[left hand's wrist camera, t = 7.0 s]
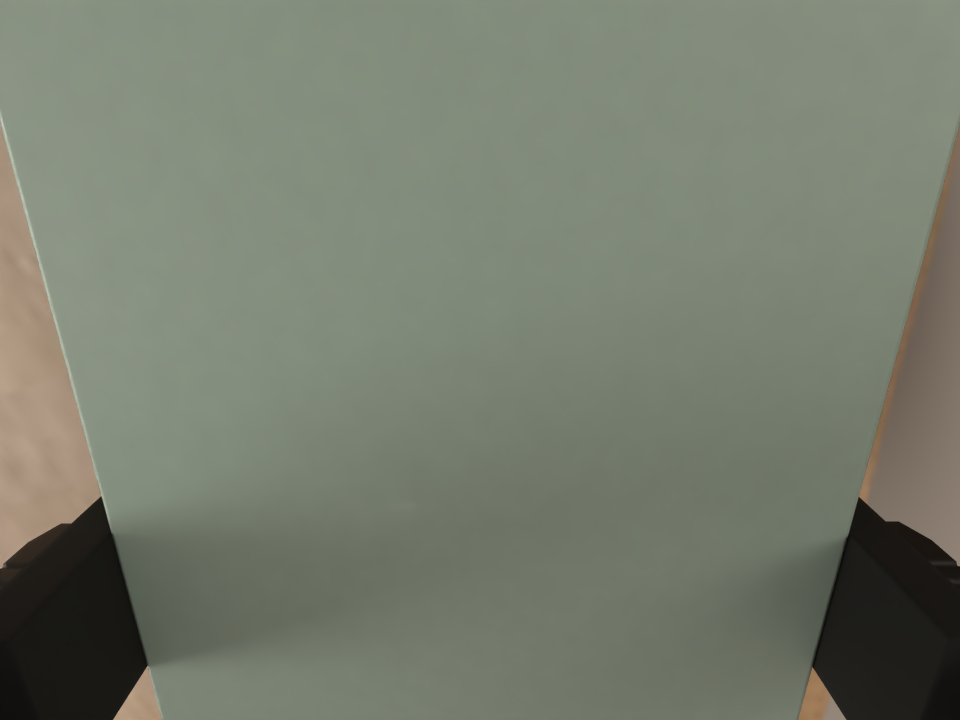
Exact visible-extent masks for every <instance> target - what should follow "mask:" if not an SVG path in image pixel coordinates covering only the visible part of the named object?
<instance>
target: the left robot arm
mask: <svg viewBox="0 0 960 720" xmlns="http://www.w3.org/2000/svg"><path fill="white" fill-rule="evenodd" d="M146 667H147V662H146V658H145V655H144V651H143V647H142V644H141V640H140V636H139V633H138V629H137V625H136V621H135V618H134V614H133V610H132V607H131V603H130V599H129V596H128V592H127V588H126V585H125V581H124V577H123V573H122V570H121V566H120V562H119V559H118V555H117V551H116V548H115V544H114V540H113V537H112V533H111V529H110V525H109V522H108V518H107V514H106V511H105V507H104V503H103V500H102V496H101V497H100V498H99V499H98V500H97V501H96V502H94V503H93V504H92V505H91V506H90V507H89V508H88V509H87V510H86V511H85V512H84V513H82V514H81V515H80V516H79V517H78V518H77V519H76V520H75V521H74V522H73V523H72V524H60V525H58V526H56V527H54V528H53V529H51V530H49V531H47V532H46V533H44V534H42V535H40V536H39V537H37V538H35V539H33V540H32V541H30V542H28V543H27V544H26V545H25V546H24V547H22V548H21V549H20V550H19V551H18V552H17V553H16V554H14V555H13V556H12V557H11V558H10V559H9V560H8V561H6V562H5V563H4V564H3V568H2V569H0V720H113V719H114V717H115V716H116V714H117V712H118V711H119V709H120V708H121V706H122V705H123V703H124V702H125V700H126V698H127V697H128V695H129V694H130V692H131V691H132V689H133V688H134V686H135V684H136V683H137V681H138V680H139V678H140V677H141V675H142V673H143V672H144V670H145V669H146ZM812 667H813V668H814V670H815V671H816V673H817V674H818V676H819V678H820V679H821V681H822V682H823V684H824V685H825V687H826V688H827V690H828V692H829V693H830V695H831V696H832V698H833V699H834V701H835V702H836V704H837V706H838V707H839V709H840V710H841V712H842V713H843V715H844V717H845V718H846V720H960V566H957V563H956V561H955V560H954V559H953V558H951V557H950V556H949V555H948V554H947V553H946V552H945V551H943V550H942V549H941V548H940V547H939V546H938V545H936V544H935V543H934V542H933V541H932V540H930V539H929V538H927V537H925V536H923V535H922V534H920V533H918V532H916V531H914V530H913V529H911V528H909V527H907V526H906V525H904V524H902V523H900V522H886V521H884V520H883V519H882V518H881V517H880V516H879V515H878V514H877V513H876V512H875V511H874V510H873V509H871V508H870V507H869V506H868V505H867V504H866V503H865V502H864V501H863V500H862V499H861V498H860V497H858V501H857V504H856V508H855V512H854V516H853V519H852V523H851V527H850V530H849V534H848V538H847V541H846V545H845V549H844V552H843V556H842V560H841V563H840V567H839V571H838V574H837V578H836V582H835V585H834V589H833V593H832V596H831V600H830V604H829V607H828V611H827V615H826V618H825V622H824V626H823V630H822V633H821V637H820V641H819V644H818V648H817V652H816V655H815V659H814V663H813V666H812Z"/></svg>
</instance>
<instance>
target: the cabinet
mask: <svg viewBox="0 0 960 720" xmlns="http://www.w3.org/2000/svg"><path fill="white" fill-rule="evenodd" d="M0 123H1V127H2V130H3V134H4V138H5V142H6V145H7V149H8V153H9V156H10V160H11V164H12V167H13V171H14V175H15V178H16V182H17V186H18V190H19V193H20V197H21V201H22V204H23V208H24V212H25V215H26V219H27V223H28V226H29V230H30V234H31V238H32V241H33V245H34V249H35V252H36V256H37V260H38V263H39V267H40V271H41V274H42V278H43V282H44V286H45V289H46V293H47V297H48V300H49V304H50V308H51V311H52V315H53V319H54V322H55V326H56V330H57V334H58V337H59V341H60V345H61V348H62V352H63V356H64V359H65V363H66V367H67V370H68V374H69V378H70V382H71V385H72V389H73V393H74V396H75V400H76V404H77V407H78V411H79V415H80V418H81V422H82V426H83V430H84V433H85V437H86V441H87V444H88V448H89V452H90V455H91V459H92V463H93V466H94V470H95V474H96V478H97V481H98V485H99V489H100V492H101V496H102V500H103V503H104V507H105V511H106V514H107V518H108V522H109V525H110V529H111V533H112V537H113V540H114V544H115V548H116V551H117V555H118V559H119V562H120V566H121V570H122V573H123V577H124V581H125V585H126V588H127V592H128V596H129V599H130V603H131V607H132V610H133V614H134V618H135V621H136V625H137V629H138V633H139V636H140V640H141V644H142V647H143V651H144V655H145V658H146V662H147V666H148V669H149V673H150V677H151V681H152V684H153V688H154V692H155V695H156V699H157V703H158V706H159V710H160V714H161V717H162V720H798V718H799V714H800V710H801V707H802V703H803V699H804V696H805V692H806V688H807V685H808V681H809V677H810V674H811V670H812V666H813V663H814V659H815V655H816V652H817V648H818V644H819V641H820V637H821V633H822V630H823V626H824V622H825V618H826V615H827V611H828V607H829V604H830V600H831V596H832V593H833V589H834V585H835V582H836V578H837V574H838V571H839V567H840V563H841V560H842V556H843V552H844V549H845V545H846V541H847V538H848V534H849V530H850V527H851V523H852V519H853V516H854V512H855V508H856V504H857V501H858V497H859V493H860V490H861V486H862V482H863V479H864V475H865V471H866V468H867V464H868V460H869V457H870V453H871V449H872V446H873V442H874V438H875V435H876V431H877V427H878V424H879V420H880V416H881V413H882V409H883V405H884V402H885V398H886V394H887V390H888V387H889V383H890V379H891V376H892V372H893V368H894V365H895V361H896V357H897V354H898V350H899V346H900V343H901V339H902V335H903V332H904V328H905V324H906V321H907V317H908V313H909V310H910V306H911V302H912V299H913V295H914V291H915V288H916V284H917V280H918V276H919V273H920V269H921V265H922V262H923V258H924V254H925V251H926V247H927V243H928V240H929V236H930V232H931V229H932V225H933V221H934V218H935V214H936V210H937V207H938V203H939V199H940V196H941V192H942V188H943V185H944V181H945V177H946V174H947V170H948V166H949V162H950V159H951V155H952V151H953V148H954V144H955V140H956V137H957V133H958V129H959V126H960V0H0Z"/></svg>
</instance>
